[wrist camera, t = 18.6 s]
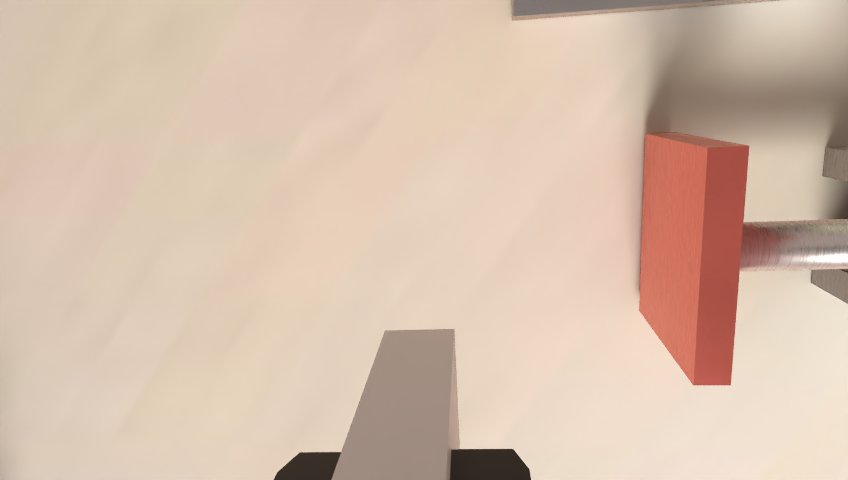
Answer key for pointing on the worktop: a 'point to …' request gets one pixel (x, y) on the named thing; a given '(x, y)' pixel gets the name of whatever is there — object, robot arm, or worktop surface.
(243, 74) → the worktop surface
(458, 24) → the worktop surface
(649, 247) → the lever
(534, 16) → the press
